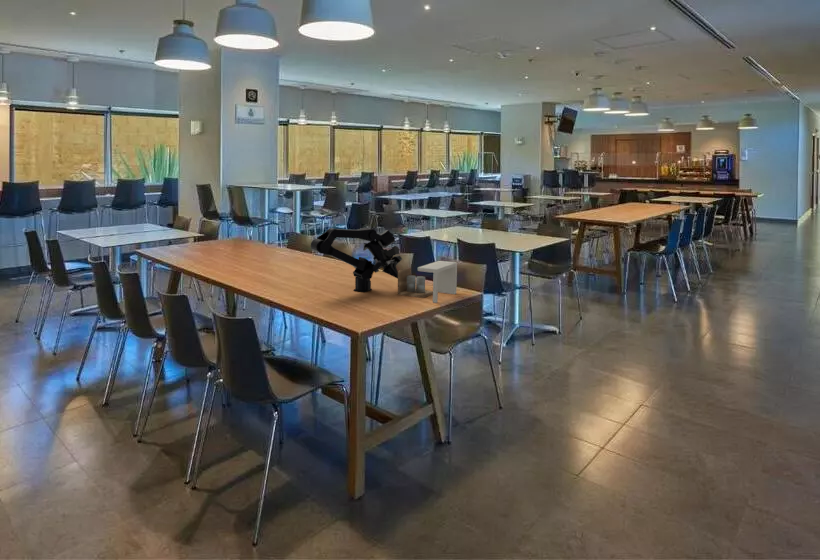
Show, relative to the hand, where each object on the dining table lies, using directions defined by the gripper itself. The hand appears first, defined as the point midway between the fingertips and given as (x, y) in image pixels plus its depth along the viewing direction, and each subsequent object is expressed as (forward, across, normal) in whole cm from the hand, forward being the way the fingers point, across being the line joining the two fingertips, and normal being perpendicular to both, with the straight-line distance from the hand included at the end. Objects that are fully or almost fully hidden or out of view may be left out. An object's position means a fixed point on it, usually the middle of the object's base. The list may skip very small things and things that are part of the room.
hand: (398, 277), depth 277 cm
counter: (+19, 0, -10) cm, 21 cm away
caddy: (+11, 0, -2) cm, 11 cm away
